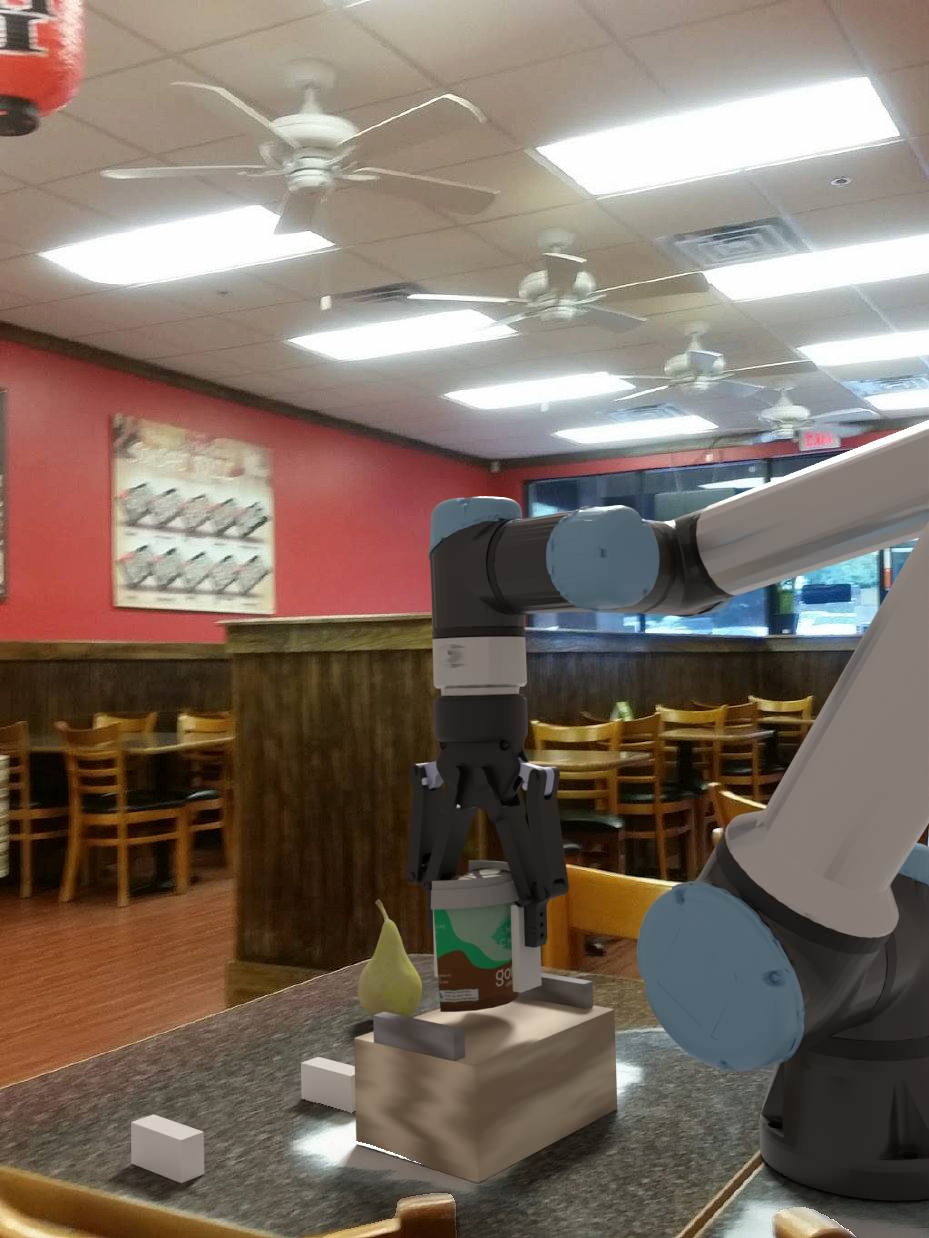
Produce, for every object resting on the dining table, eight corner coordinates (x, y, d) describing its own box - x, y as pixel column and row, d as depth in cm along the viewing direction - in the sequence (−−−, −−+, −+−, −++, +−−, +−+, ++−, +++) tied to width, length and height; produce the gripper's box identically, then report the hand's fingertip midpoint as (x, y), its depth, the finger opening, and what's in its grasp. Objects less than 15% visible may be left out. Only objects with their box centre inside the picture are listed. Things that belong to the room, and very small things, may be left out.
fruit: (369, 1034, 121) (367, 913, 122) (348, 1016, 128) (345, 901, 129) (432, 1026, 124) (429, 907, 124) (407, 1008, 130) (405, 895, 131)
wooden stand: (617, 1108, 99) (613, 984, 99) (478, 1183, 85) (474, 1037, 85) (501, 1080, 106) (498, 965, 107) (356, 1144, 92) (353, 1011, 93)
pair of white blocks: (368, 1106, 101) (368, 1069, 101) (181, 1183, 86) (181, 1140, 86) (318, 1091, 104) (318, 1056, 104) (131, 1163, 90) (130, 1122, 90)
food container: (515, 1019, 89) (509, 881, 90) (434, 1017, 91) (429, 881, 91) (546, 980, 101) (541, 859, 102) (475, 978, 102) (470, 859, 103)
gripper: (357, 694, 101) (362, 973, 100) (555, 691, 88) (564, 1011, 87) (417, 692, 106) (423, 955, 105) (611, 689, 94) (620, 989, 92)
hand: (487, 980), depth 96 cm, fingers closed on food container, 7 cm apart
